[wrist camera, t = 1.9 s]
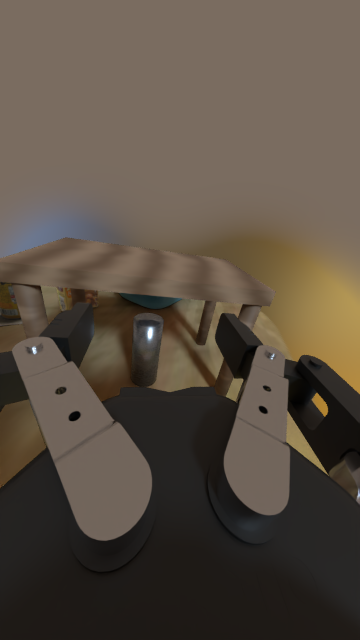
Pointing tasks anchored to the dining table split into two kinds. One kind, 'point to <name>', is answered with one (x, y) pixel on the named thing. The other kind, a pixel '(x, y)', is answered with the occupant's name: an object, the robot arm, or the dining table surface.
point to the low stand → (131, 282)
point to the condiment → (8, 305)
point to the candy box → (66, 298)
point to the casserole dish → (150, 300)
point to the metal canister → (146, 348)
